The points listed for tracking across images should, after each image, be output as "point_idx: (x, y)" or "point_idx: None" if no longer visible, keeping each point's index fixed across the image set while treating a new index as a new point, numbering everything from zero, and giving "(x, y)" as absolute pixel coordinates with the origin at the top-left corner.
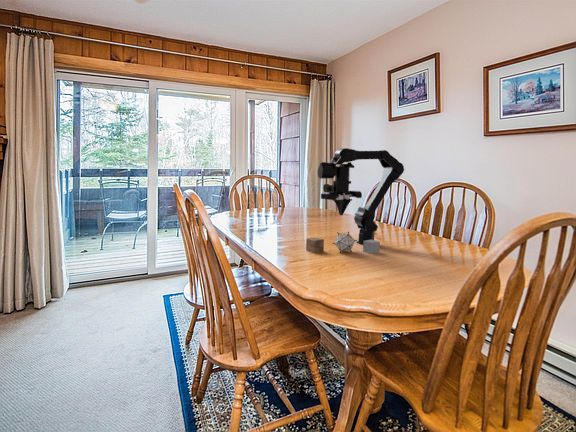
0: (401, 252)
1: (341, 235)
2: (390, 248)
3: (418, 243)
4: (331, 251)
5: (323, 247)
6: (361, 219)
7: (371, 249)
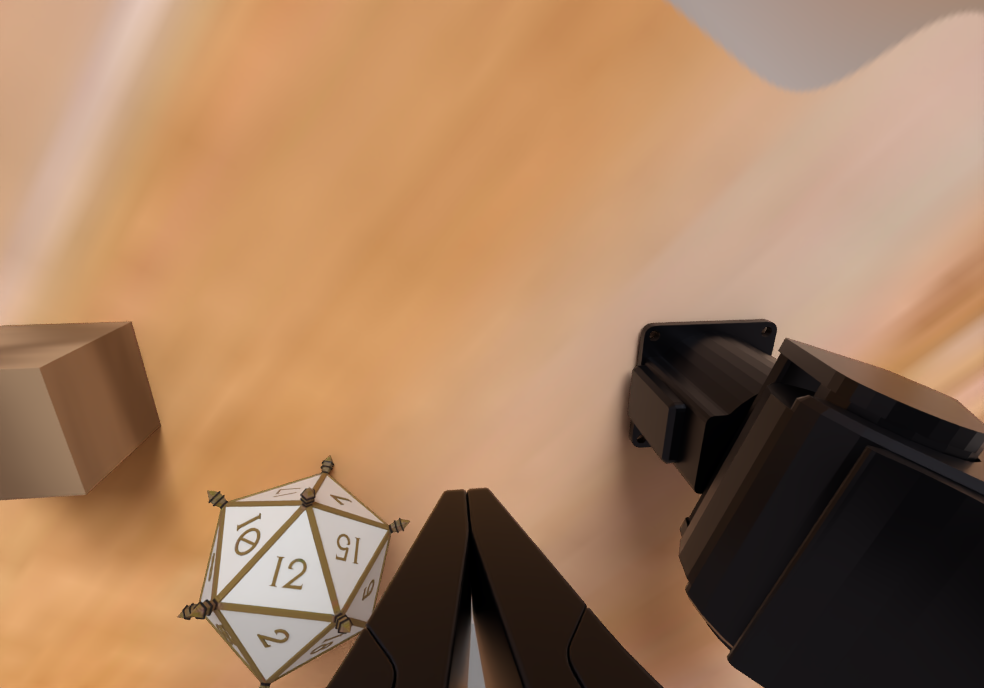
0: (649, 650)
1: (226, 632)
2: None
3: None
4: (225, 457)
5: (137, 444)
6: (705, 617)
7: None
